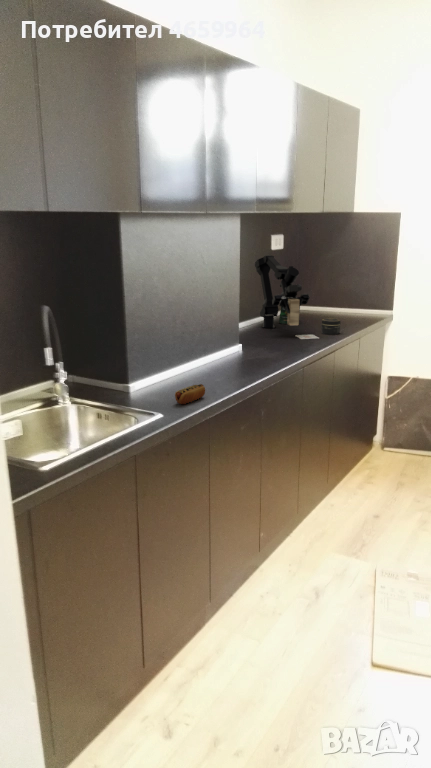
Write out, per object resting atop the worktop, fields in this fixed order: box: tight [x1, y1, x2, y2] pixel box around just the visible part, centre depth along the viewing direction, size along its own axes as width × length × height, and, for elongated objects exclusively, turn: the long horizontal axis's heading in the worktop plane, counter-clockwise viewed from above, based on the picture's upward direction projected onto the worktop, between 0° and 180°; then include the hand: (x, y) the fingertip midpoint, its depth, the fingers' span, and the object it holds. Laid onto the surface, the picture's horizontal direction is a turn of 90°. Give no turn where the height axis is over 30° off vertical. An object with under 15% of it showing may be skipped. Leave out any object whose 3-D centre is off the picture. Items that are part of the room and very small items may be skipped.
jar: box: [320, 317, 342, 336], centre depth 310 cm, size 10×10×8 cm
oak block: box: [286, 299, 300, 326], centre depth 297 cm, size 4×4×13 cm
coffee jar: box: [278, 291, 298, 325], centre depth 339 cm, size 10×8×19 cm
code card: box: [295, 334, 319, 340], centre depth 302 cm, size 10×10×1 cm
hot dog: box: [174, 383, 206, 405], centre depth 198 cm, size 5×13×5 cm, turn 143°
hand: (294, 312), depth 295 cm, fingers closed on oak block, 4 cm apart
